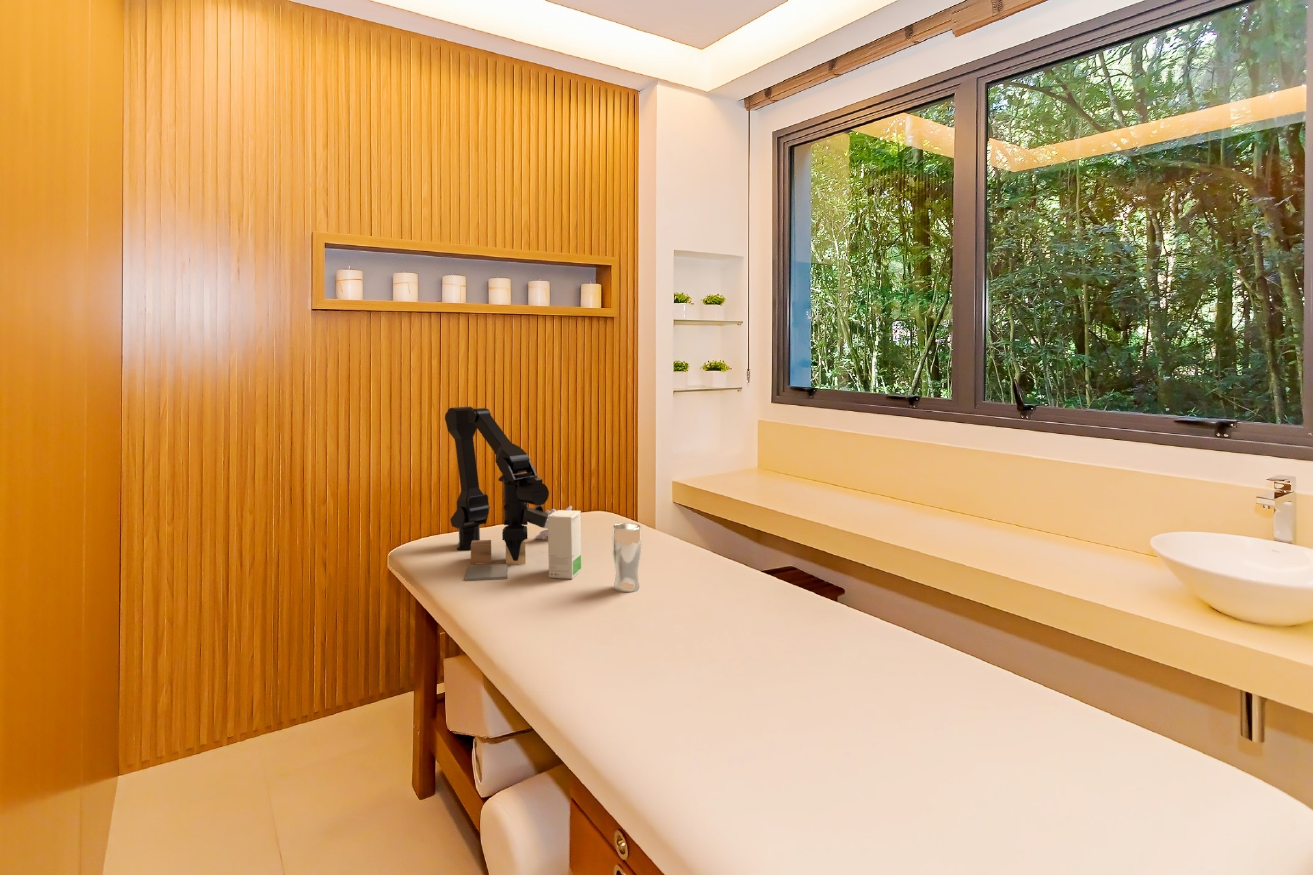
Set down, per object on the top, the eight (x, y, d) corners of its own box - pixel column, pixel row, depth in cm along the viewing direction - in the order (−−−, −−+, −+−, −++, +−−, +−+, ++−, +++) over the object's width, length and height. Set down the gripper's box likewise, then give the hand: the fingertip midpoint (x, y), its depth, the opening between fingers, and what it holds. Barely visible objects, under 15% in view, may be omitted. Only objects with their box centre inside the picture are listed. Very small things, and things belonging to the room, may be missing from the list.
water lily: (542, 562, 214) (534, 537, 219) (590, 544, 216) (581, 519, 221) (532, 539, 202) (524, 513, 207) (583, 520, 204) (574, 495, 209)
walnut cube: (472, 558, 194) (471, 540, 193) (491, 557, 195) (491, 539, 194) (471, 564, 189) (470, 545, 188) (490, 563, 190) (490, 544, 189)
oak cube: (506, 559, 193) (506, 540, 193) (525, 558, 194) (525, 540, 194) (506, 564, 189) (505, 546, 188) (525, 563, 189) (525, 545, 189)
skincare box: (572, 579, 177) (571, 517, 175) (546, 577, 178) (545, 516, 176) (582, 569, 185) (582, 509, 183) (557, 567, 186) (557, 508, 184)
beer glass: (611, 583, 175) (611, 522, 173) (640, 582, 175) (640, 522, 173) (612, 593, 168) (612, 530, 166) (642, 592, 169) (642, 529, 167)
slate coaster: (468, 568, 185) (467, 565, 185) (507, 566, 187) (507, 564, 187) (464, 580, 176) (464, 578, 176) (507, 578, 177) (506, 576, 177)
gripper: (547, 506, 182) (547, 567, 184) (545, 491, 200) (545, 546, 202) (501, 508, 180) (502, 569, 182) (503, 492, 198) (504, 548, 200)
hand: (515, 557), depth 191 cm, fingers closed on oak cube, 5 cm apart
